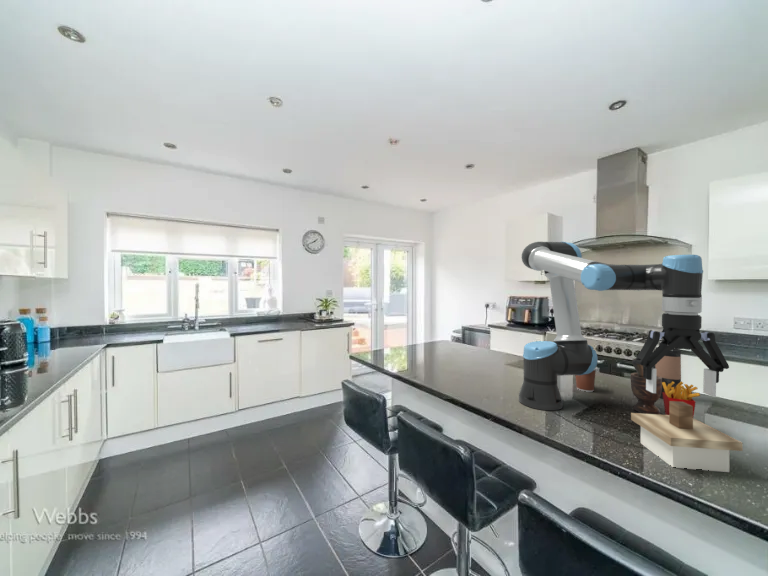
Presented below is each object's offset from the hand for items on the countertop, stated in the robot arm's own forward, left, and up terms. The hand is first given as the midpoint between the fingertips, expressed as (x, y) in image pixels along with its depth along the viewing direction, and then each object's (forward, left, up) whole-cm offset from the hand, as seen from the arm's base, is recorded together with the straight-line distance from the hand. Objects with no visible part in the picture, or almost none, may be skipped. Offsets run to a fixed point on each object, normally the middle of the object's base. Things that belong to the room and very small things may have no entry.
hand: (679, 393), depth 81 cm
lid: (0, 0, -11) cm, 11 cm away
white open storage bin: (0, 0, -17) cm, 17 cm away
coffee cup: (+1, +54, -17) cm, 56 cm away
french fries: (+13, +18, -17) cm, 28 cm away
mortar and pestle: (+10, +30, -17) cm, 36 cm away
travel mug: (+29, +48, -17) cm, 58 cm away
